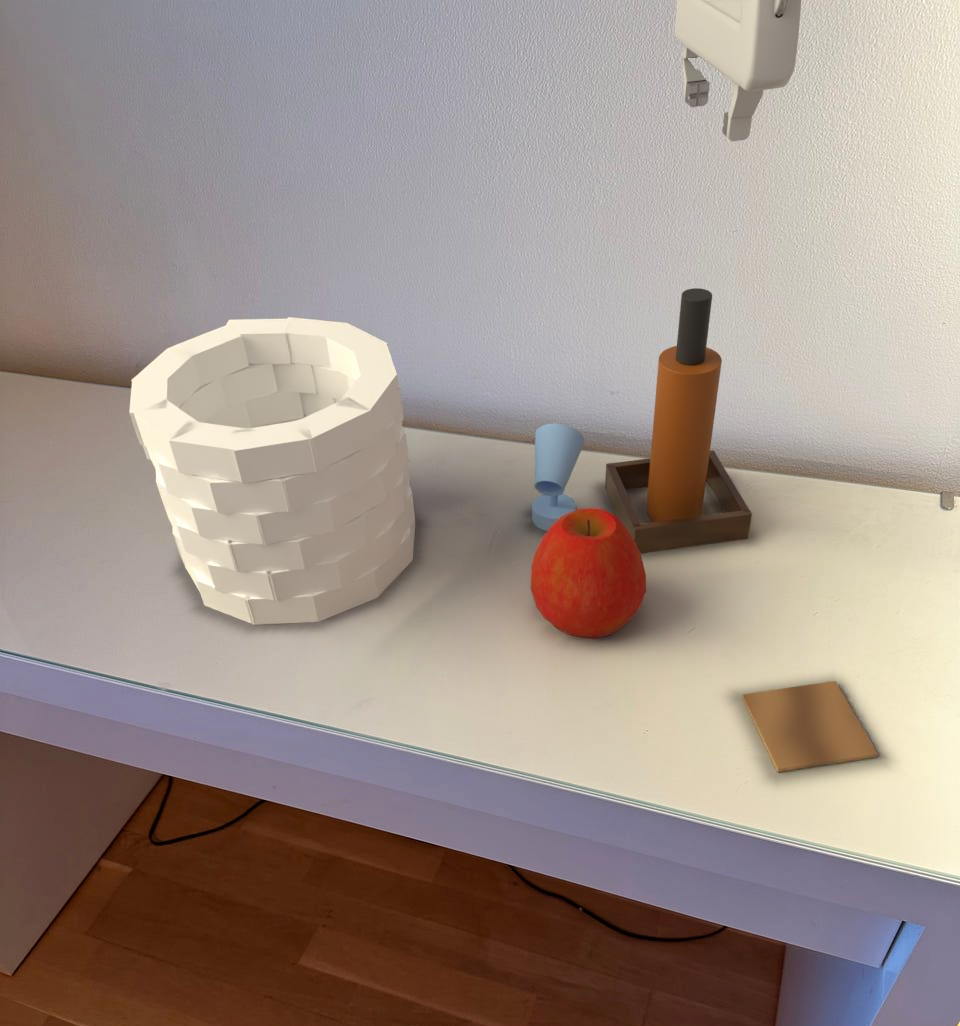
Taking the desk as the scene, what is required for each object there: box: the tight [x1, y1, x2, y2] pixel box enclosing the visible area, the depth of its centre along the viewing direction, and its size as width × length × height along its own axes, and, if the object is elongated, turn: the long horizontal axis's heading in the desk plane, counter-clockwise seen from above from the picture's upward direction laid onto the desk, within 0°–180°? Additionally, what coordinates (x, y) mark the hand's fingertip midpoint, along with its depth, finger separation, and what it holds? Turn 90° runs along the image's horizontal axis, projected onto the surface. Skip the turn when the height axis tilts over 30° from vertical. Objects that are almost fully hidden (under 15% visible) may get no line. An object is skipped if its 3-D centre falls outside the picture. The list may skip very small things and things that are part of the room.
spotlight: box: [531, 423, 585, 532], centre depth 96 cm, size 5×10×7 cm
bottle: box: [645, 287, 723, 523], centre depth 90 cm, size 6×6×23 cm
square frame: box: [604, 449, 753, 554], centre depth 97 cm, size 12×12×3 cm
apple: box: [530, 507, 647, 639], centre depth 85 cm, size 10×10×10 cm
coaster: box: [741, 680, 879, 773], centre depth 77 cm, size 8×8×1 cm
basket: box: [128, 316, 416, 626], centre depth 91 cm, size 25×24×19 cm
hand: (714, 120), depth 81 cm, fingers open, 8 cm apart
